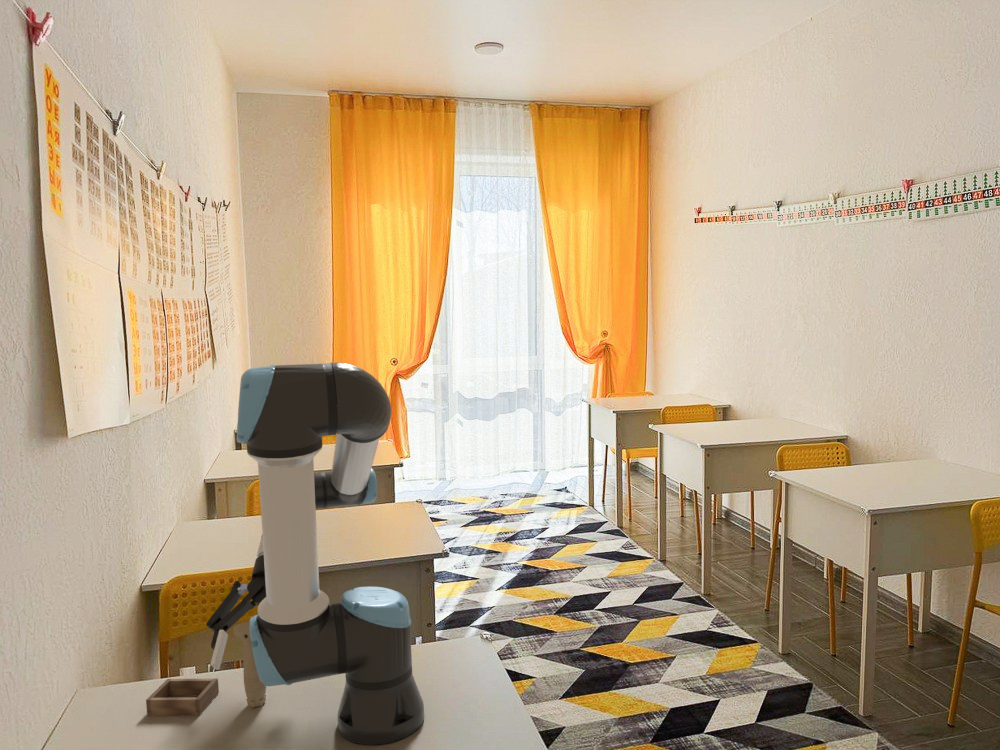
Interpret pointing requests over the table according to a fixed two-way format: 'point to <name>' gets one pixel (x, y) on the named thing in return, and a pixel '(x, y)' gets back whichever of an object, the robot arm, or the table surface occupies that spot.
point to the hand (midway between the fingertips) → (250, 667)
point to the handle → (250, 668)
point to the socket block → (182, 706)
